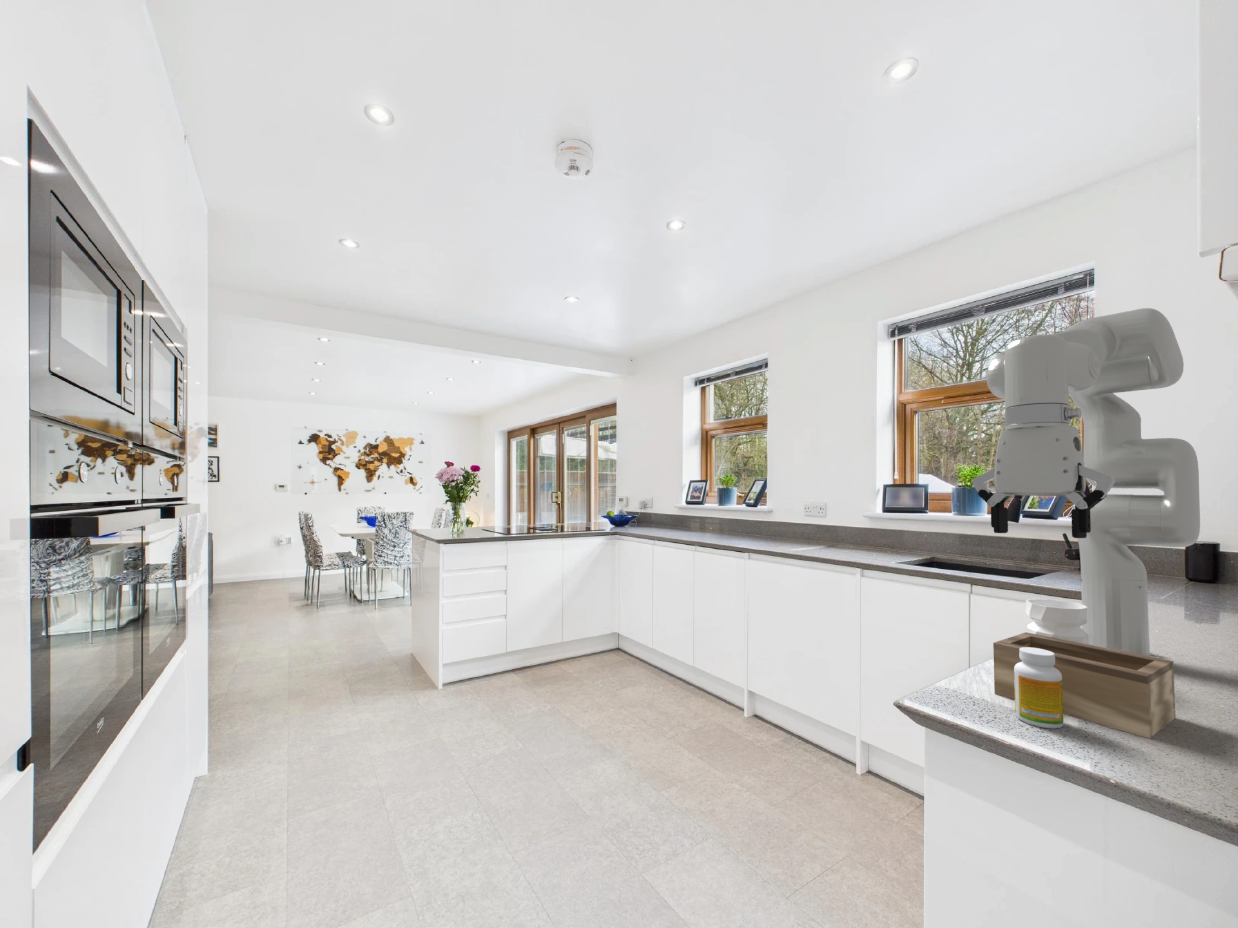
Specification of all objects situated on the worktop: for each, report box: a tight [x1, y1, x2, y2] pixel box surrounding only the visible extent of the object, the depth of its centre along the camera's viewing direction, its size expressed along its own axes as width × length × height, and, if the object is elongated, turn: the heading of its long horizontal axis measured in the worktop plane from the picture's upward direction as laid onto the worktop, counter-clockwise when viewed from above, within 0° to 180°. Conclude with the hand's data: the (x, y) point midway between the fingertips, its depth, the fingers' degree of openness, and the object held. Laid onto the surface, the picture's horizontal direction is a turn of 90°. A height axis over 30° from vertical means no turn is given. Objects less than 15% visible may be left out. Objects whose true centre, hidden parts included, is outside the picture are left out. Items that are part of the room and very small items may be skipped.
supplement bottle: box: [1014, 647, 1065, 729], centre depth 76 cm, size 5×5×10 cm
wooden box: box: [992, 631, 1176, 739], centre depth 81 cm, size 12×18×8 cm, turn 33°
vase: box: [1025, 598, 1089, 645], centre depth 97 cm, size 9×9×12 cm
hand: (1038, 535), depth 79 cm, fingers open, 9 cm apart
